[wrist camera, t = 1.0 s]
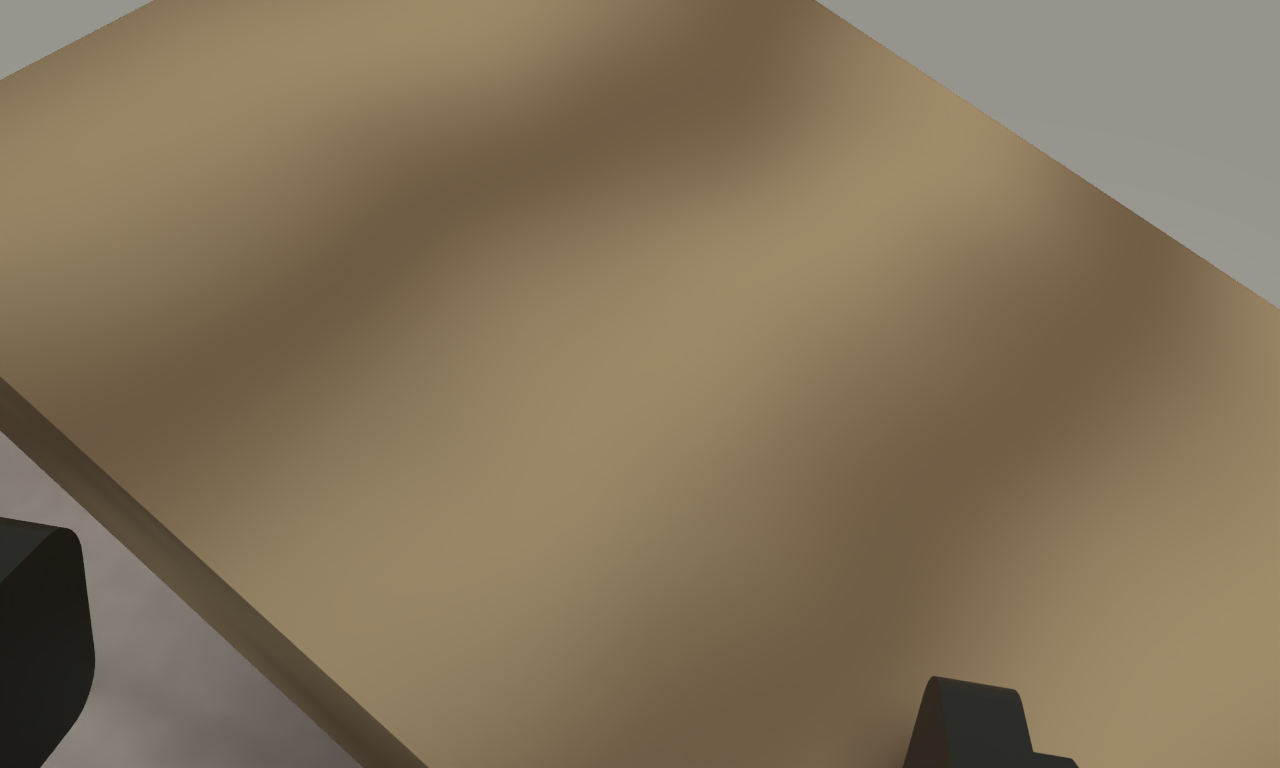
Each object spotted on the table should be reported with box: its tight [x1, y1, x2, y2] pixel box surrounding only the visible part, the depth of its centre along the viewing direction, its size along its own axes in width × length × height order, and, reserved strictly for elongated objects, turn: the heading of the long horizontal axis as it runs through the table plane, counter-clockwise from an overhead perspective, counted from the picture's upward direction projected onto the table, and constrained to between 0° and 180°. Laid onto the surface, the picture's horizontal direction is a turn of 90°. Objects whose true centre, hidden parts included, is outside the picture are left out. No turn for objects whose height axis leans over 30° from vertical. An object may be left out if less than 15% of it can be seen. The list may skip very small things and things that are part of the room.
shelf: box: [0, 0, 1280, 768], centre depth 23 cm, size 22×12×21 cm, turn 51°
